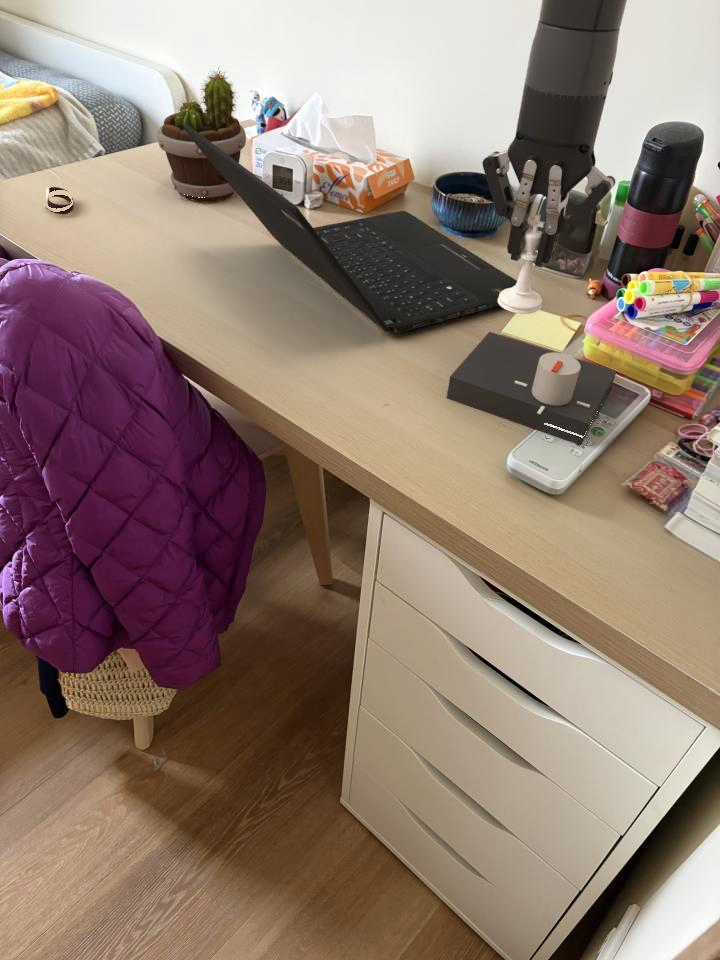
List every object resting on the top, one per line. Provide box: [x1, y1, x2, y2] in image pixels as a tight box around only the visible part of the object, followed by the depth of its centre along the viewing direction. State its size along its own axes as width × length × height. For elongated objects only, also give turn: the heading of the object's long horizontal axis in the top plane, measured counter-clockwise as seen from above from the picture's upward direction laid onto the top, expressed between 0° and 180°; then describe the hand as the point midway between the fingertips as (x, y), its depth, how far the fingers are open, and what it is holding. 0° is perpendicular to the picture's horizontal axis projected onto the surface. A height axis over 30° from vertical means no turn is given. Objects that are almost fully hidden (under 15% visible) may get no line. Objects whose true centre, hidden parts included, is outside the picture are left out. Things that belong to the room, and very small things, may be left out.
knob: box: [532, 351, 581, 406], centre depth 78 cm, size 4×4×4 cm
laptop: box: [184, 124, 518, 334], centre depth 97 cm, size 33×38×19 cm
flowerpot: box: [156, 65, 247, 203], centre depth 120 cm, size 14×15×20 cm
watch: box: [44, 186, 74, 215], centre depth 117 cm, size 8×5×4 cm, turn 17°
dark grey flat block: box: [446, 331, 618, 446], centre depth 83 cm, size 16×13×3 cm
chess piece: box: [498, 213, 546, 315], centre depth 77 cm, size 5×5×10 cm
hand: (529, 260), depth 77 cm, fingers closed on chess piece
